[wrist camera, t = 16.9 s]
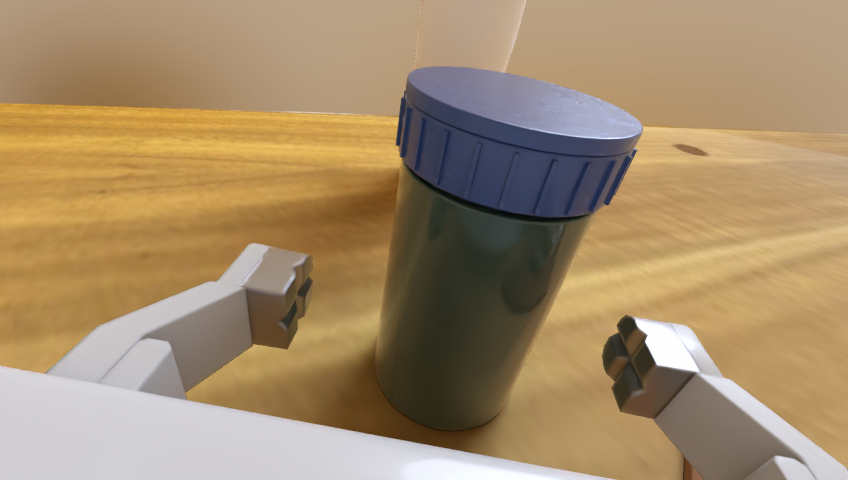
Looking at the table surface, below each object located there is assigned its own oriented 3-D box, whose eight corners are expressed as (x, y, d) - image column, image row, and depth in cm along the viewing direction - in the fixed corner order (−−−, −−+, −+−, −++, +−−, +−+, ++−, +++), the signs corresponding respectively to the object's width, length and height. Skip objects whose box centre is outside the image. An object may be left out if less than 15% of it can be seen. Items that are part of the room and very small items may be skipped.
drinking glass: (380, 172, 31) (405, -63, 22) (426, 153, 36) (461, -45, 27) (452, 205, 28) (510, -48, 20) (491, 179, 33) (550, -31, 25)
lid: (580, 254, 8) (623, 166, 7) (348, 150, 10) (352, 73, 9) (628, 172, 12) (658, 112, 11) (461, 114, 15) (473, 60, 13)
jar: (471, 465, 13) (602, 184, 7) (344, 370, 15) (362, 96, 9) (530, 358, 17) (642, 128, 11) (424, 297, 19) (472, 77, 14)
